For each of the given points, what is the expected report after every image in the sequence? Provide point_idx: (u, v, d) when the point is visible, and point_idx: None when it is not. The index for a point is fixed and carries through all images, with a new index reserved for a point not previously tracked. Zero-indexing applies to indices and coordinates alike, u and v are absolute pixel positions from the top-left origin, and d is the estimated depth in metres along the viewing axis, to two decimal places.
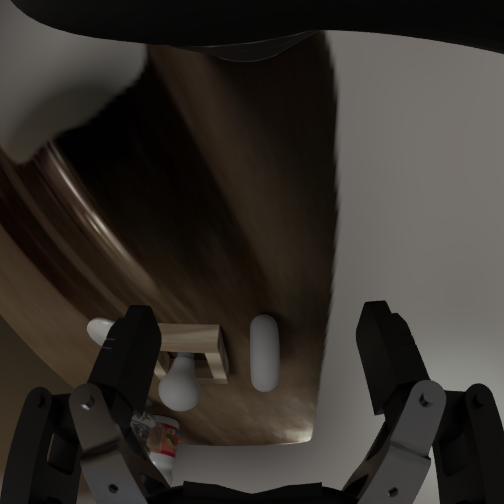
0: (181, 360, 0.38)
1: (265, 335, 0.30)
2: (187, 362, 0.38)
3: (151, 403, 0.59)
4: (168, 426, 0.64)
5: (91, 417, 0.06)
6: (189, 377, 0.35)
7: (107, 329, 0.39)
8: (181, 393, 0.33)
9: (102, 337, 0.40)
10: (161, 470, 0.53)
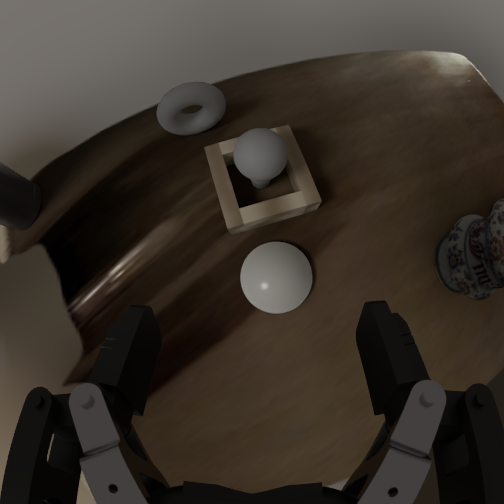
0: None
1: (157, 117, 0.35)
2: None
3: None
4: None
5: (91, 417, 0.06)
6: None
7: (255, 278, 0.35)
8: (235, 145, 0.29)
9: (279, 290, 0.35)
10: None
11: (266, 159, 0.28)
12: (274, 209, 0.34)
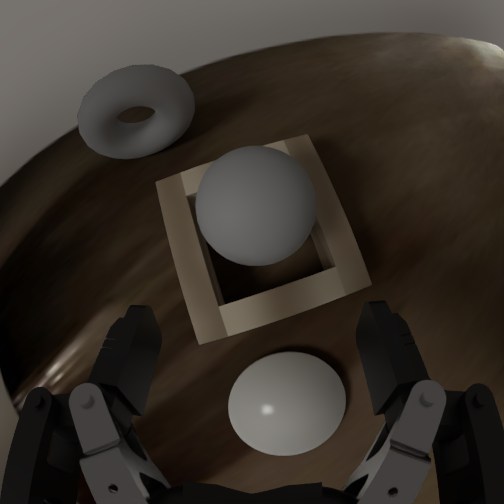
0: None
1: None
2: None
3: None
4: None
5: (91, 416, 0.06)
6: None
7: (253, 411, 0.19)
8: (198, 190, 0.13)
9: (292, 426, 0.18)
10: None
11: (269, 229, 0.12)
12: (285, 306, 0.17)
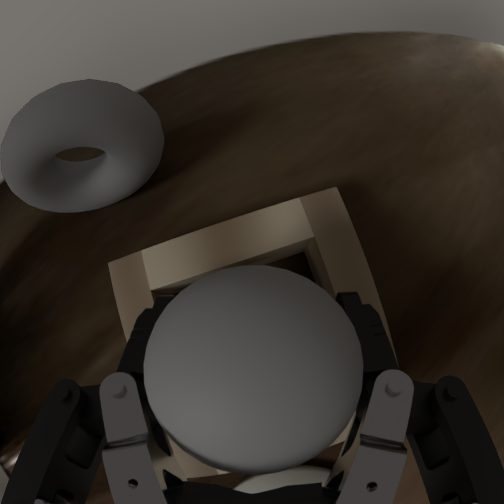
0: None
1: None
2: None
3: None
4: None
5: (121, 407, 0.06)
6: None
7: None
8: (144, 365, 0.06)
9: None
10: None
11: (276, 468, 0.05)
12: None
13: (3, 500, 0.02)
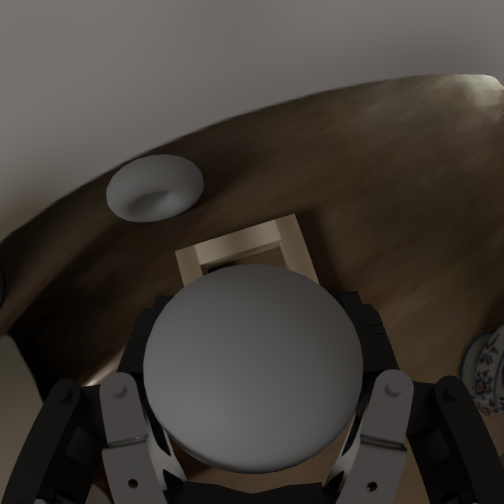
0: None
1: None
2: None
3: (485, 336, 0.26)
4: None
5: (121, 407, 0.06)
6: None
7: None
8: (144, 363, 0.06)
9: None
10: None
11: (276, 467, 0.05)
12: None
13: (3, 500, 0.02)
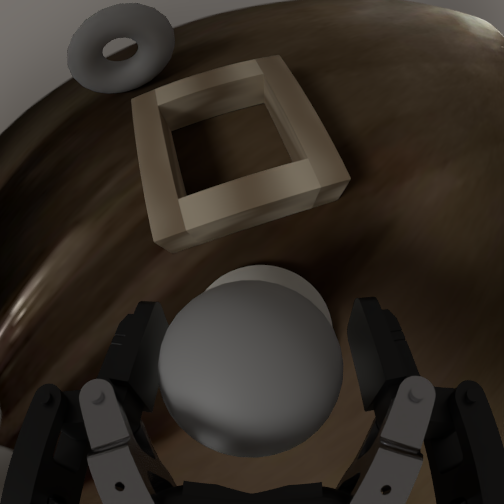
0: None
1: None
2: None
3: None
4: None
5: (101, 413, 0.06)
6: None
7: None
8: (158, 365, 0.08)
9: None
10: None
11: (269, 450, 0.06)
12: (250, 197, 0.16)
13: None
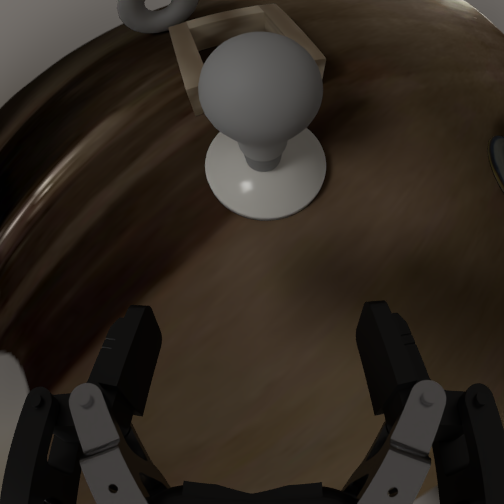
0: (238, 142, 0.16)
1: None
2: None
3: None
4: None
5: (91, 417, 0.06)
6: None
7: (229, 163, 0.20)
8: (202, 68, 0.11)
9: (271, 179, 0.20)
10: None
11: (276, 82, 0.10)
12: None
13: None
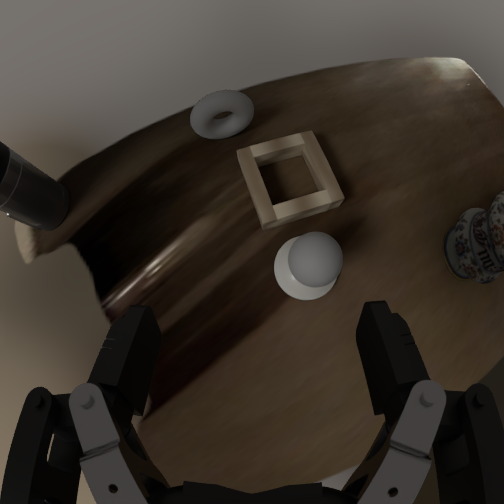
0: None
1: None
2: None
3: None
4: None
5: (91, 417, 0.06)
6: None
7: (287, 269, 0.38)
8: (292, 254, 0.29)
9: None
10: None
11: (326, 274, 0.28)
12: (303, 205, 0.37)
13: None
